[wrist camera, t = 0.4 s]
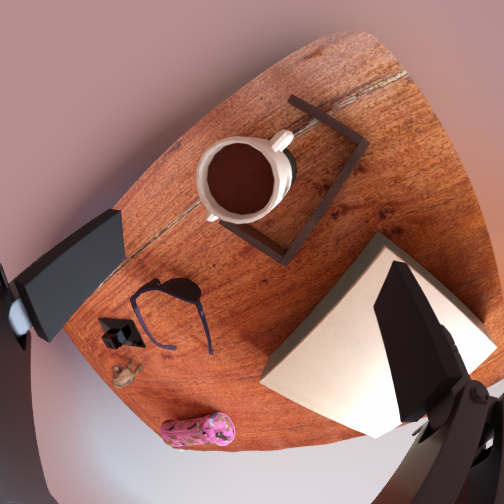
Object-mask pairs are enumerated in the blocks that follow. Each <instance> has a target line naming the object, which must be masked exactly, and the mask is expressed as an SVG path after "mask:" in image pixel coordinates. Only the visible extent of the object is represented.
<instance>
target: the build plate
mask: <svg viewBox="0 0 504 504" xmlns="http://www.w3.org/2000/svg"><path fill="white" fill-rule="evenodd" d="M98 320H99V322H100V324H101V326H102V327H103V329H104V331H105V334H103V336H102V337H101V338H102V340H103V341H104V343H105V345H106V347H107V348H112V349H116V350H117V349H118V348H119V347H121V346H122V345H129V346H136V347H143V348H145V347H146V346H145V344H144V342H143V340H142V338H141V336H140V334H139V332H138V330H137V328H136V326H135V324H134V322H133V320H124V319H108V318H104V317H100V318H99V319H98Z"/></svg>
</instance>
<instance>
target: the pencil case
mask: <svg viewBox="0 0 504 504" xmlns="http://www.w3.org/2000/svg"><path fill="white" fill-rule="evenodd" d="M160 432H161V436H162V438H163V440H164V442H165V443H166V444H167V445H170V446H173V447H180V446H185V445H200V444H215V445H218V446H225V445H228V444H229V443H231V442H232V441H233V439H234V437H235V433H236V429H235V426H234V424H233V422H232V421H231V419H230V418H229V417H228V416H227V415H226V414H224V413H222V412H214V413H212V414H210V415H207V416H203V417H201V418H194V419H189V420H174V419H171V420H166V421H164V422H163V423H162V425H161V428H160Z"/></svg>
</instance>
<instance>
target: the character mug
mask: <svg viewBox="0 0 504 504" xmlns="http://www.w3.org/2000/svg"><path fill="white" fill-rule="evenodd" d="M293 137H294V135H293V133H292V132H290V131H288V130H285V129H283V130H281V131H279V132H278V133H276V134H275V136H274V137H273V138H272V139H271V140H270V141H269V140H267V139H260V138H253V137H242V136H232V137H229V138H225V139H222V140H218V141H216V142H215V143H214V144H212V145H211V146H210V147H209V148H208V149H206V150H205V151H204V153H203V155H202V157H201V159H200V161H199V163H198V165H197V169H196V181H195V183H196V187H197V191H198V194H199V198H200V200H201V201H202V202H203V204H204V205H205V207H206V208H207V210H208V211H207V213H206V215H205V218H206V220H207V221H210V222H212V221H214V220H216V219H218V218H220V219H221V220H223V221H227V222H231V223H235V224H243V223H252V222H254V221H256V220H258V219H261V218H262V217H264V216H265V215H266V214H268V213H269V212H270V211H271V210H272V209H273V208H274V207H275V206H276V205H277V204H278V203H279V202H280V201H281V200H282V199H283V198H284V196H285V195H286V193H287V192H288V190H289V188H290V185H291V184H292V183H293V182H294V180H295V177H296V174H297V167H296V160H295V158H294V157H293V155H292V154H291V153H290V151H289V150H288V149H286V147H287V146H288V145H289V144H290V143H291V141H292V140H293Z"/></svg>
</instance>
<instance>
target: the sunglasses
mask: <svg viewBox="0 0 504 504" xmlns="http://www.w3.org/2000/svg"><path fill="white" fill-rule="evenodd" d="M150 290H159V291H162V292H165V293H167V294H169V295H172V296H174V297H176V298H179V299H181V300H183V301H186V302H189V303H192V304H195V305H196V307H197V309H198V313H199V315H200V318H201V321H202V323H203V326H204V330H205V333H206V336H207V340H208V348H209V354H211V355H212V354H213V351H214V350H211V338H210V333H209V329H208V325H207V322H206V318H205V315H204V311H203V308H202V305H201V302H200V300H199V298H200V296H201V290H200V288H199V287H198V285H197V284H195V283H194V282H193V281H191V280H189V279H186V278H174V279H171V280H169V281H166V282H165V283H163V284H161V283H160V281H159V279H157V278H156V279H153V280H151V281H150V282H148V283H146V284H145V285H143V286H142V287H141V288H140V289H139V290H138V291H137V292H136V293H135V294H134V295H133V296H132V297H131V298H130V302H131V305H132V307H133V309H134V312H135V314H136V316H137V318H138V320H139V322H140V324H141V326H142V327H143V329H144V331H145V332H146V334H147V335H148V336H149V338H150V339H151V340H152V341H153V343H155V344H156V345H157V346H159V347H161V348H164V349H168V350H176V346H172V345H162V344H159V343H158V342H157V341H156V340H155V339H154V338H153V337H152V335H151V334H150V332H149V331H148V329H147V327H146V325H145V323H144V321H143V319H142V316H141V314H140V312H139V309H138V307H137V304H136V298H137V297H138V296H139V295H140V294H141V293H144V292H147V291H150Z"/></svg>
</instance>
